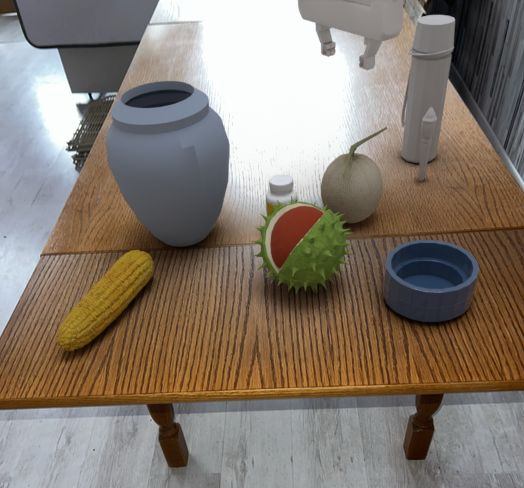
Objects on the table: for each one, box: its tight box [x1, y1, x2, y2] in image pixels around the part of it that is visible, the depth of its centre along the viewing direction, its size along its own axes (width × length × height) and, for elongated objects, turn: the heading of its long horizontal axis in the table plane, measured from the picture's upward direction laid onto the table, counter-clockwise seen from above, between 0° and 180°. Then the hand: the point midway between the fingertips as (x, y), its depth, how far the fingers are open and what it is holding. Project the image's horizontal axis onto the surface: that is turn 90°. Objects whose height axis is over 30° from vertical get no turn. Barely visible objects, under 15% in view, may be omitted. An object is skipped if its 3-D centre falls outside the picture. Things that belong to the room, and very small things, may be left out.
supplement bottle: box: [265, 173, 299, 217], centre depth 94 cm, size 5×5×10 cm
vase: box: [105, 80, 231, 248], centre depth 90 cm, size 20×20×24 cm
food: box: [56, 249, 155, 352], centre depth 82 cm, size 21×6×6 cm, turn 157°
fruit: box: [320, 126, 388, 224], centre depth 93 cm, size 10×12×15 cm
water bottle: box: [400, 14, 456, 164], centre depth 106 cm, size 9×8×25 cm
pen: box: [418, 107, 437, 182], centre depth 102 cm, size 2×3×14 cm
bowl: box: [382, 239, 480, 323], centre depth 79 cm, size 13×13×6 cm
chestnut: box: [251, 196, 354, 296], centre depth 81 cm, size 15×14×15 cm
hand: (346, 61), depth 84 cm, fingers open, 8 cm apart
